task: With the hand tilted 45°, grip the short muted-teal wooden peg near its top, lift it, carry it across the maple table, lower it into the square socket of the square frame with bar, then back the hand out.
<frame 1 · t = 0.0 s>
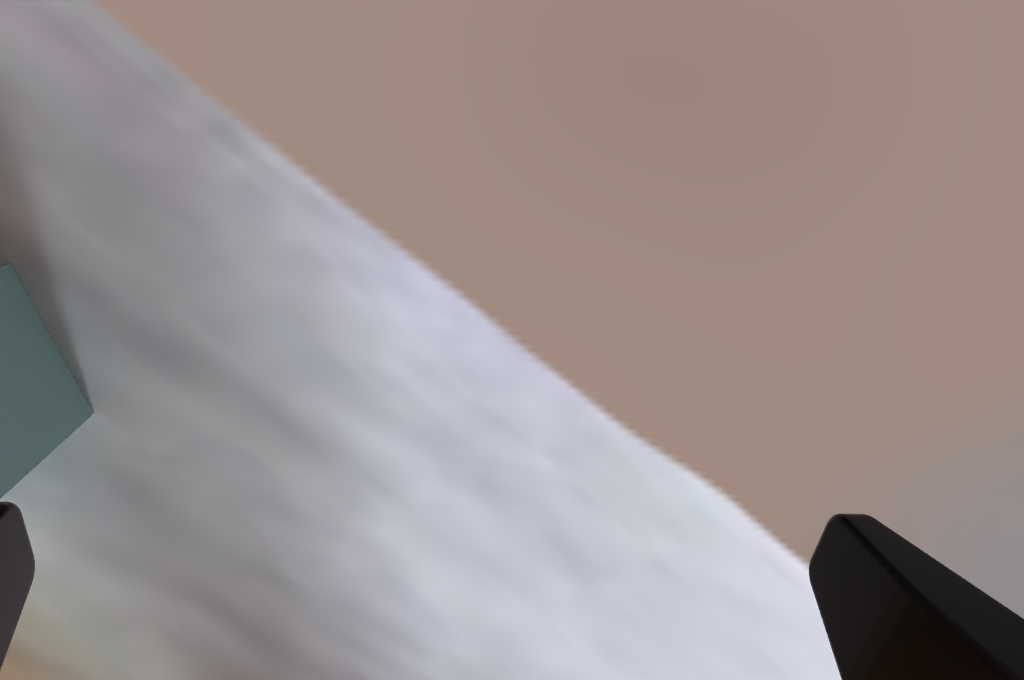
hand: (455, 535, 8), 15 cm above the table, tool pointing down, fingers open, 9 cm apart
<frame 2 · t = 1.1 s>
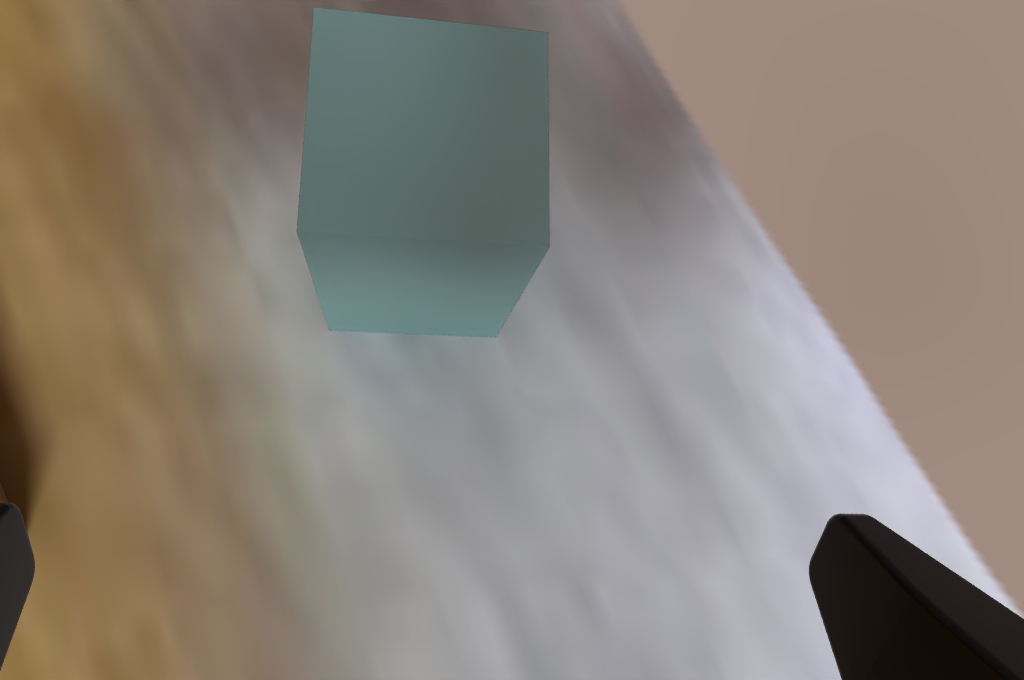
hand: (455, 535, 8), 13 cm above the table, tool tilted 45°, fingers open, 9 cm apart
teal peg: (416, 256, 23), on the table
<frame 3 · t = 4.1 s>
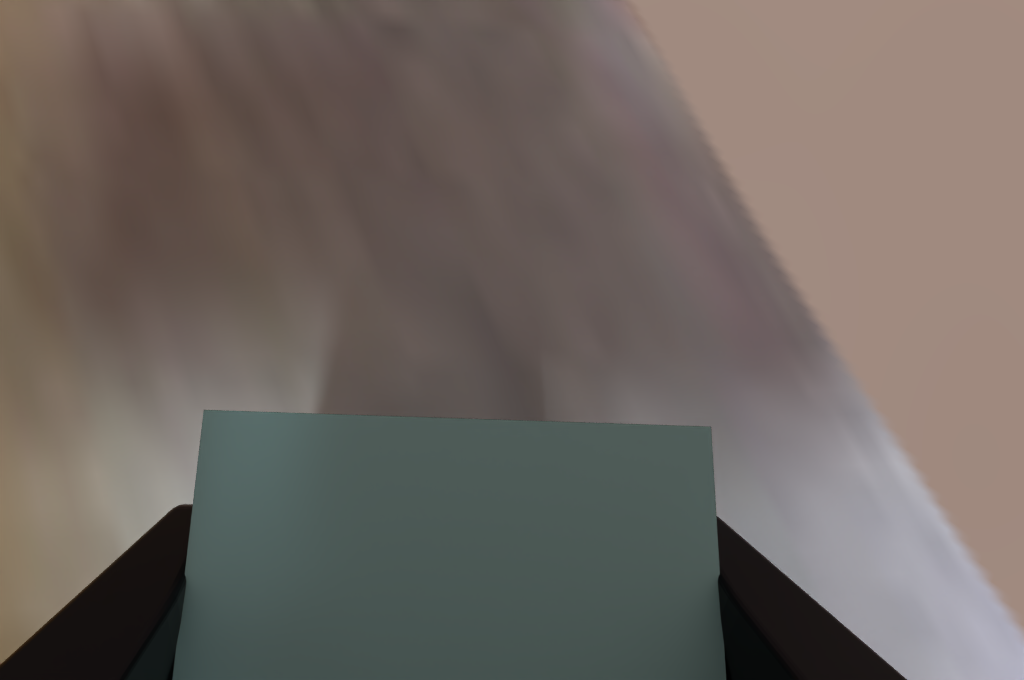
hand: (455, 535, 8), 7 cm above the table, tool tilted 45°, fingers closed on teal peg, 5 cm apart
teal peg: (423, 608, 14), on the table, touching gripper
when the fingers open (8 cm above the table, at t = 9.2 s): teal peg drops 1 cm, resting in square frame with bar.
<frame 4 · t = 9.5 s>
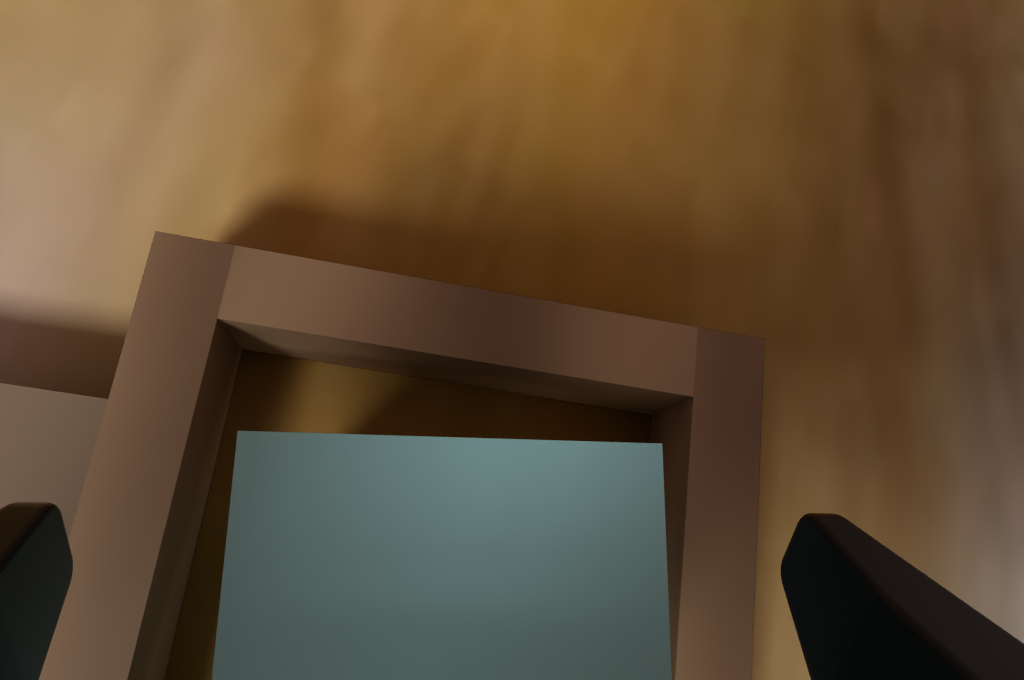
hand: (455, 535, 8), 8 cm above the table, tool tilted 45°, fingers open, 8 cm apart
square frame with bar: (420, 600, 16), on the table
teal peg: (421, 599, 16), resting in square frame with bar
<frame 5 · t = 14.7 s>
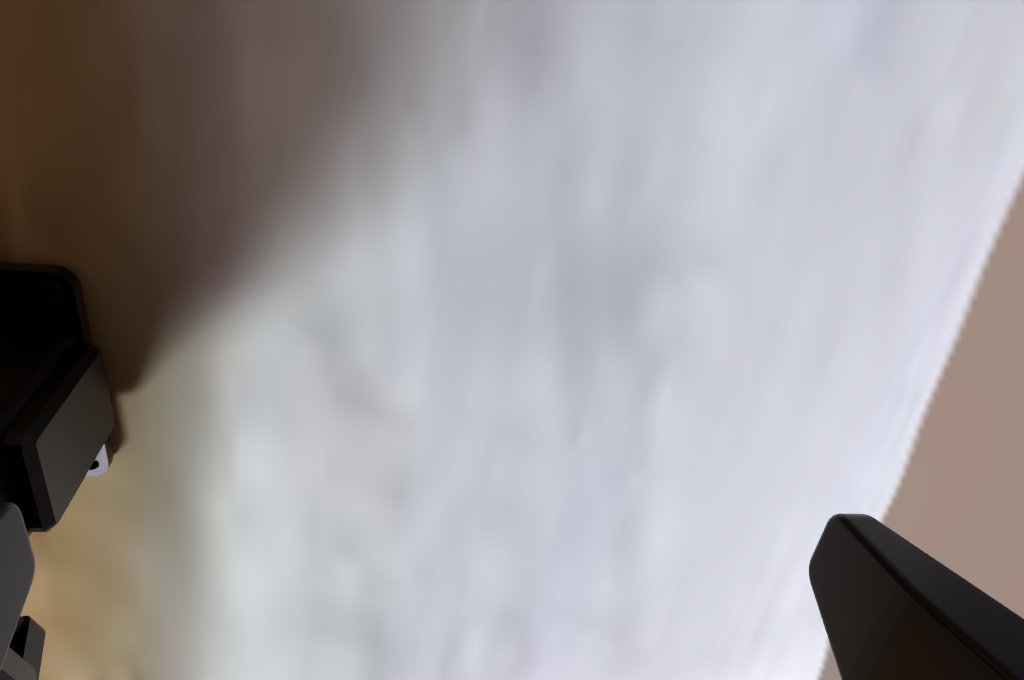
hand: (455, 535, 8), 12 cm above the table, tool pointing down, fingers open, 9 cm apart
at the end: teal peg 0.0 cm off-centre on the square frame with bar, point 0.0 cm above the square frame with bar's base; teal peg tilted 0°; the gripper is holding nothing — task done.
